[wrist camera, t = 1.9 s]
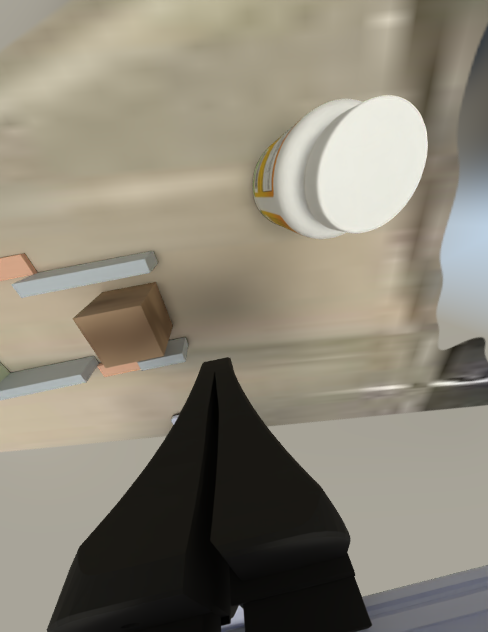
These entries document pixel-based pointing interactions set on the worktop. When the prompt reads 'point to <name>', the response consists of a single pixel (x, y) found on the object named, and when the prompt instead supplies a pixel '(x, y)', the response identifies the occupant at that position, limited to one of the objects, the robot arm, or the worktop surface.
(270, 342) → the worktop surface
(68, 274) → the channel
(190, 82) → the worktop surface
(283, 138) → the supplement bottle
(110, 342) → the walnut block
